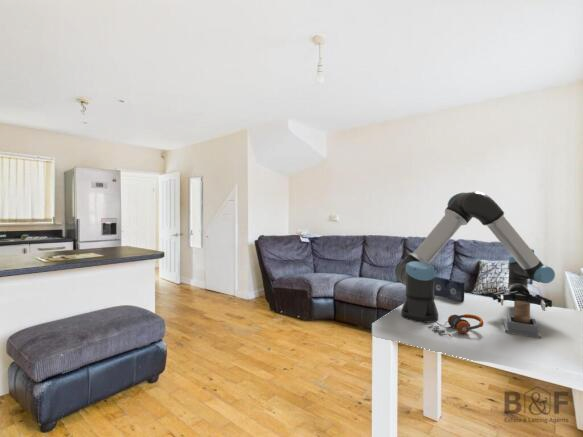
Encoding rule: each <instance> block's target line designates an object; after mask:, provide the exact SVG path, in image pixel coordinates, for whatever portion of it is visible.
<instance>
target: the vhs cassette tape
mask: <svg viewBox="0 0 583 437" xmlns="http://www.w3.org/2000/svg"><path fill="white" fill-rule="evenodd" d="M434 296H437V297H440V298H444V299H448V300H451V301H454V302H460V303H463V301H464V302H465V282H462V281H460V280H459V281H457V280H452V279H449V278H446V277H445V278H444V277H440V276H436V275H435V277H434Z"/></svg>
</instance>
